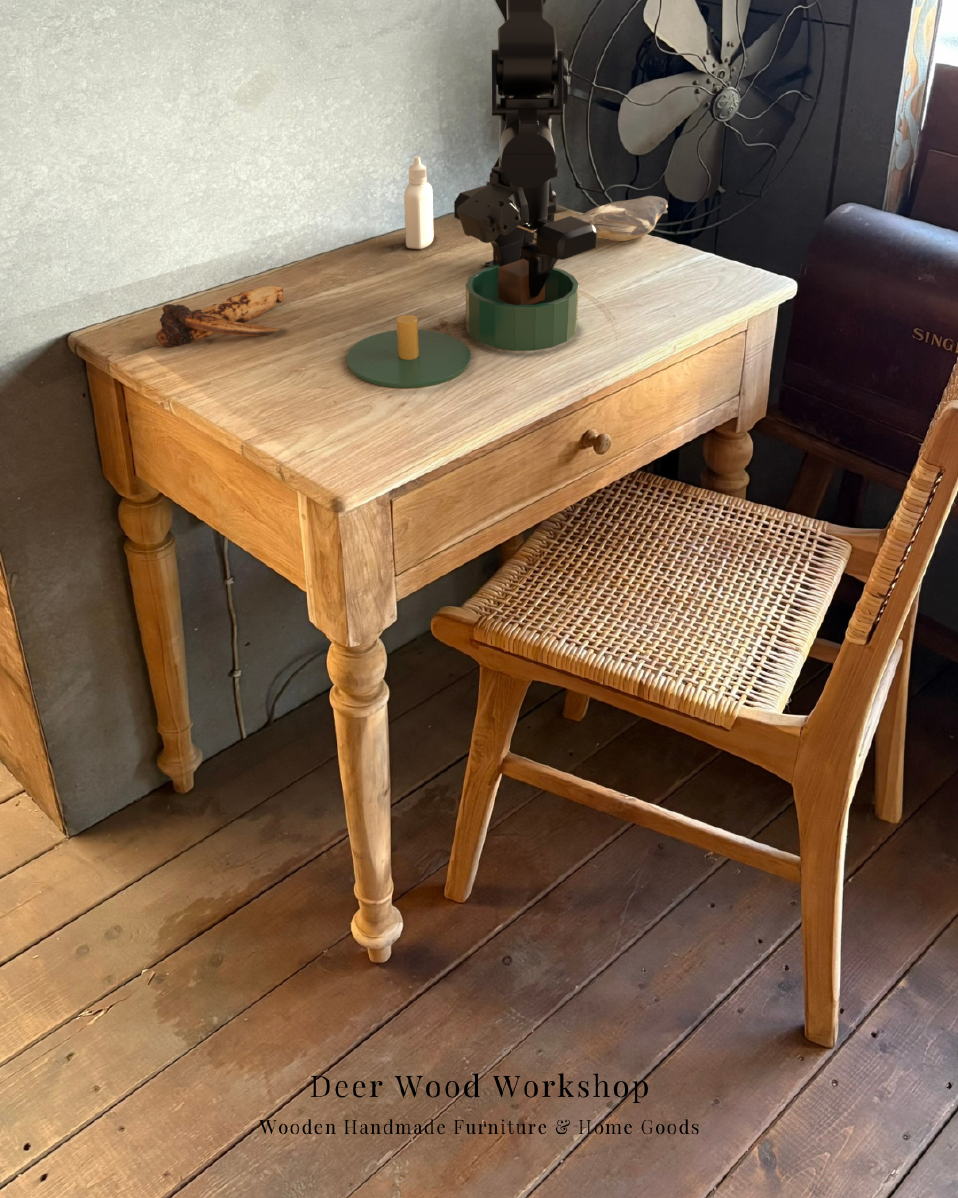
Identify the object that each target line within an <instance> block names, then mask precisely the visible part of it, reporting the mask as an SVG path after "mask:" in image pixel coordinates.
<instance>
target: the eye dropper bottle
mask: <svg viewBox="0 0 958 1198" xmlns="http://www.w3.org/2000/svg"><path fill="white" fill-rule="evenodd" d="M427 177H428V176H427V166H425V165H424V164H422V162H421V157H420V156H419V155H417V156H416V155H415V156H414V159H413V164H411V165H409V167H408V182H409V183H408V184H407V186H406V188H405V190H404V194H403V199H404V200H403V201H404V202H403V203H404V204H403V205H404V206H403V207H404V231H405V246H406V248H408V249H412V250H413V249H414V250H422V249H425V248H427V247H428V246H430V245H431V244H432V243H433V241H434V235H435V233H434V199H433V196H434V195H433V187H432V184H430V183H429V182H428V178H427Z"/></svg>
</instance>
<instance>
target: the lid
mask: <svg viewBox="0 0 958 1198" xmlns="http://www.w3.org/2000/svg"><path fill="white" fill-rule="evenodd" d="M418 319H419V318H418V317H417V316H415V315H411V314H403V315H400V316H398V317H396V329H394V330H389V331H383V332H379V333H375V334H372V335H369V336H366V337H365V338H362V339H361V340H359V341H357V342H356V343H354V344H353V345H352V346H351V347H350V348H349V350H348V351H347V354H346V365H347V368H348V370H349V371H350V372H351V374H353V375H354V376H355V377H357V378H358V379H360V380H361V381H364V382H367V383H370V384H373V385H376V386H381V387H385V388H386V387H387V388H393V389H396V388H397V389H413V388H424V387H430V386H435V385H440V384H443V383H445V382H448V381H451V380H453V379H455V378H457V377H459V376H460V375H462V374H463V373H464V372H466V370H467V369H468V367H469V366H470V363H471V352H470V351H471V350H470V349H469V347H468V346H467V345H466V344H465V342H463V341H462V340H460V339H458V338H457V337H454V336H453V335H450V334H447V333H444V332H440V331H435V330H430V329H429V330H428V329H419V320H418Z"/></svg>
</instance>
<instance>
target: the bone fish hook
mask: <svg viewBox="0 0 958 1198" xmlns="http://www.w3.org/2000/svg"><path fill="white" fill-rule="evenodd" d="M284 300H285V297H284V289H283V288H282V287H281V286H280V285H265V286H261V287H257V288H254V289H250V290H246V291H242V292H240V293H238V294H236V295H233V296H230V297H229V298H227V299H225V300H222V301H221V302H219V303H215V304H212V305H209V306H207V307H205V308H203V309H202V308H201V309H200V308H197V309H194V310H191V309H190V308H189V307H187V306H185V305H183V304H172V303H171V304H170V303H168V304H164V305H163V306H162V309H161V310H162V314H161V316H160V318H159V322H160V325H161V328H160V330H158V331H157V332H156V335H155V338H156V340H157V342H158V343H159V344H160V345H161V346H163V347H177V346H178V347H179V346H183V345H187V344H188V345H189V344H191V343H193V342H195V341H197V340H199V339H202V338H207V337H211V336H212V335H214V334H222V335H229V336H243V337H244V336H245V337H264V336H268V335H272V334H274V333H276V332H278V331H279V329H280V328H279V327H271V326H265V325H262V324H261V325H260V324H253V323H247V322H248V321H250V320H252V319H254V318H256V317H259V316H261V315H262V314H263V313H266V312H267V311H269V310H271V309H273V308H274V307H276V306H277V303H278V304H281V303H282V302H283V301H284Z"/></svg>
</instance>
